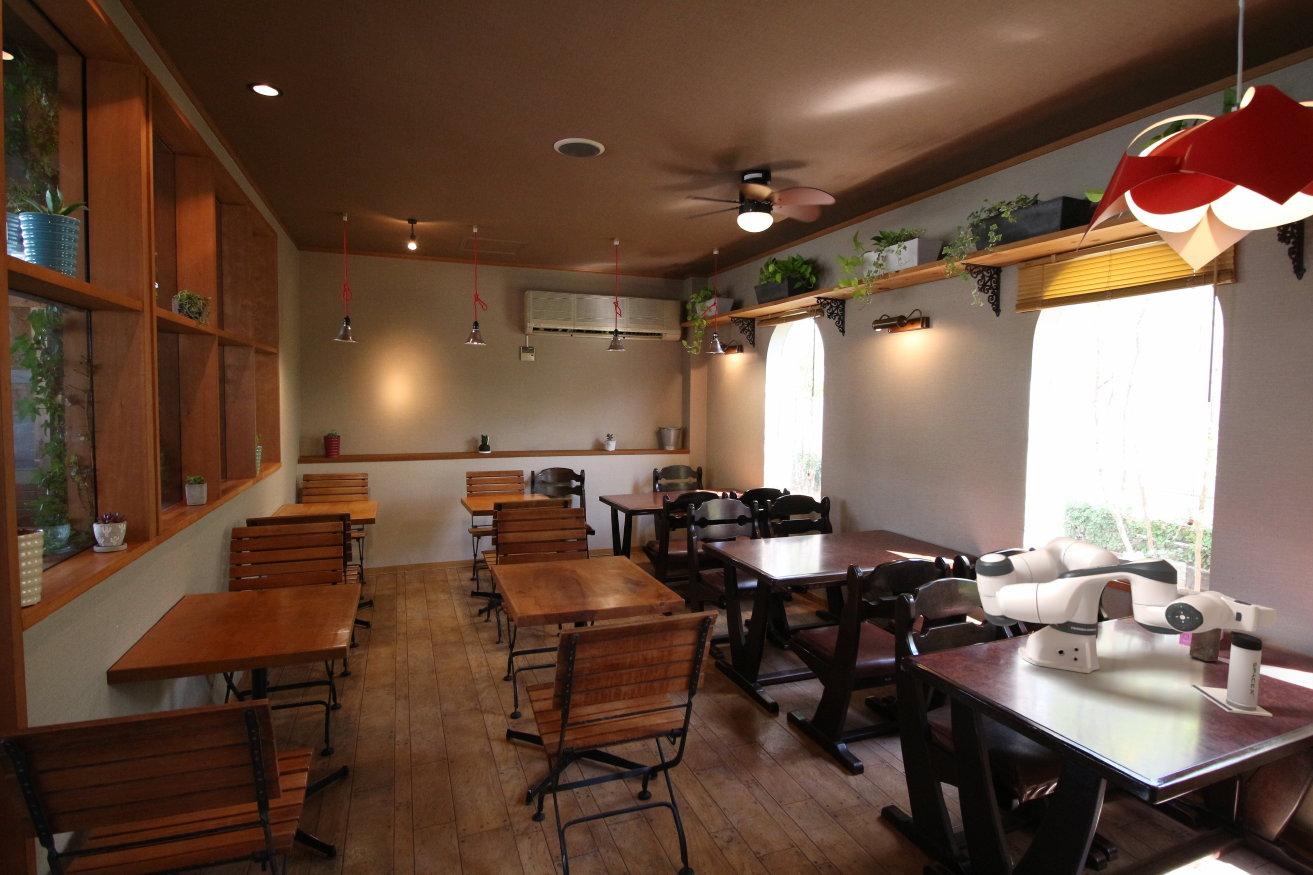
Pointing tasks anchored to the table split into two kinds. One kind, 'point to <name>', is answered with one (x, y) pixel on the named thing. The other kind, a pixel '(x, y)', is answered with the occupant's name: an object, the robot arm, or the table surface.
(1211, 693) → the mat
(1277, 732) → the table surface
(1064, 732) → the table surface
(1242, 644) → the travel mug
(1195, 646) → the candle
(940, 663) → the table surface
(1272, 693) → the table surface
